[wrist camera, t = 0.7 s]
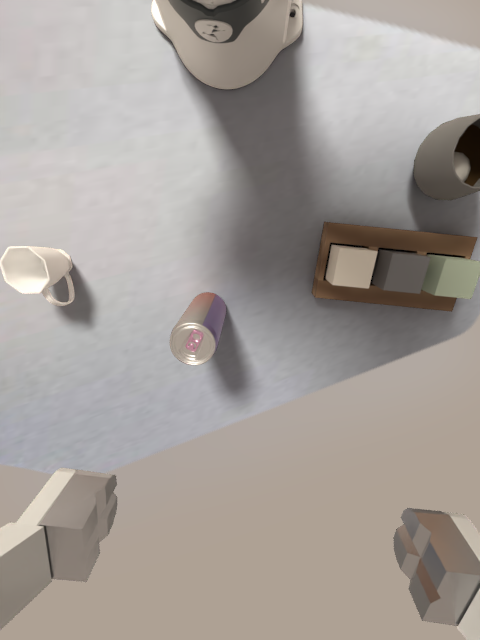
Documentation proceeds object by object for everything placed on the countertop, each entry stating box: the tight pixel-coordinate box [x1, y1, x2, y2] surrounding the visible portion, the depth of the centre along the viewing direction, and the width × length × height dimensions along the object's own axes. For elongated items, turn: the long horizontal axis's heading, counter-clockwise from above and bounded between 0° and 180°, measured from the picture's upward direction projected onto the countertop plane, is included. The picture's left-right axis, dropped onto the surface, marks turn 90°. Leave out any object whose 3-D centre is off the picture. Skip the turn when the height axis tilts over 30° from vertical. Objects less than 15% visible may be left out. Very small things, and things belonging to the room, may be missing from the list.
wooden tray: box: [312, 222, 477, 311], centre depth 46 cm, size 11×21×3 cm, turn 85°
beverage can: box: [170, 292, 226, 365], centre depth 44 cm, size 6×6×15 cm
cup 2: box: [414, 114, 480, 200], centre depth 38 cm, size 10×9×10 cm
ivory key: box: [325, 245, 378, 289], centre depth 43 cm, size 5×5×4 cm
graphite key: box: [372, 250, 431, 294], centre depth 43 cm, size 5×5×4 cm
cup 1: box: [0, 246, 75, 306], centre depth 46 cm, size 7×10×8 cm
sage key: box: [421, 254, 480, 299], centre depth 43 cm, size 5×5×4 cm
